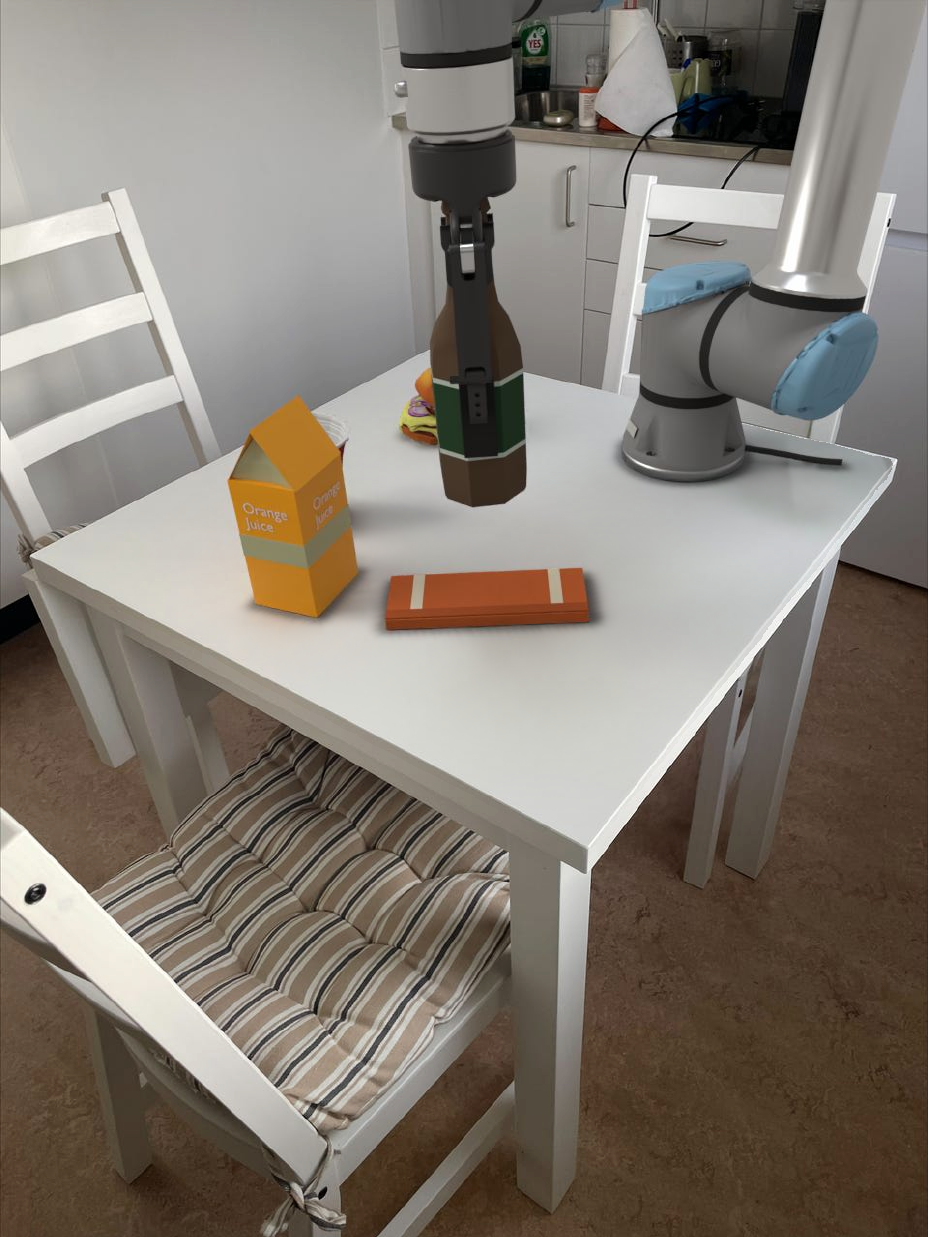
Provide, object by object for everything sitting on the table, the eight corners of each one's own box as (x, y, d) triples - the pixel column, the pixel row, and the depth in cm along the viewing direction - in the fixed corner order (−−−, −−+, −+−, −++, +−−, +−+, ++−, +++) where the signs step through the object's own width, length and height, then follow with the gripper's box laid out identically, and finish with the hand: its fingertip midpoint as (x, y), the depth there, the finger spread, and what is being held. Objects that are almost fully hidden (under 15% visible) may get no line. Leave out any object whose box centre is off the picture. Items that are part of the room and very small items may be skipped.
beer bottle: (466, 518, 78) (441, 212, 64) (424, 482, 84) (393, 193, 70) (545, 492, 81) (539, 192, 67) (500, 458, 87) (485, 175, 73)
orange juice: (254, 604, 99) (213, 426, 87) (299, 560, 105) (266, 390, 94) (318, 618, 96) (284, 437, 84) (360, 573, 102) (334, 398, 91)
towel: (581, 576, 99) (582, 565, 98) (588, 622, 93) (589, 610, 92) (392, 584, 100) (391, 573, 99) (386, 630, 94) (384, 618, 93)
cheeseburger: (404, 416, 135) (415, 349, 129) (477, 433, 135) (491, 367, 129) (390, 446, 127) (401, 377, 121) (468, 465, 127) (483, 396, 121)
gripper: (414, 111, 74) (439, 387, 88) (398, 166, 58) (432, 494, 72) (509, 104, 74) (520, 382, 88) (521, 156, 58) (531, 488, 71)
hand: (480, 432), depth 80 cm, fingers closed on beer bottle, 7 cm apart
